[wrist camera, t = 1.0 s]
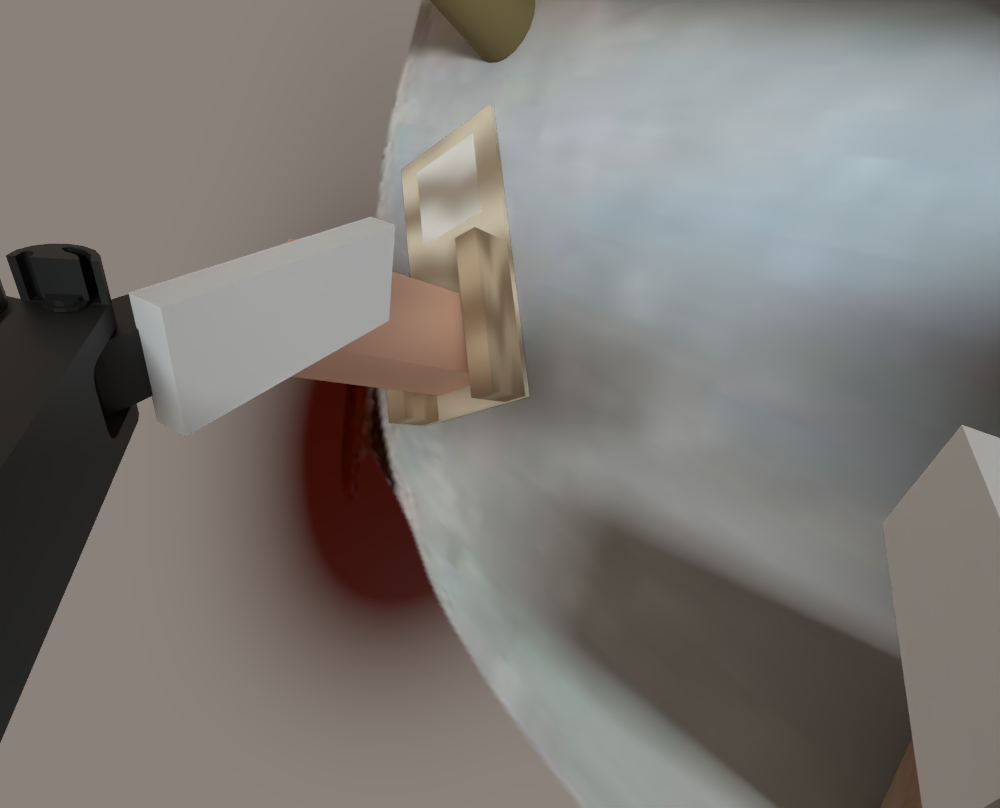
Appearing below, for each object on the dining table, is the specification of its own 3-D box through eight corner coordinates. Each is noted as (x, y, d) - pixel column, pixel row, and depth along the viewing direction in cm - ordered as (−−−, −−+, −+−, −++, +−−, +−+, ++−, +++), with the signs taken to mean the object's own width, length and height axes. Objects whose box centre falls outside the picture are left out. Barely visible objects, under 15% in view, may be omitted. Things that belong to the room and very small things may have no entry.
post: (432, 325, 47) (240, 276, 35) (485, 302, 43) (291, 238, 31) (439, 395, 46) (242, 370, 33) (494, 377, 42) (294, 341, 30)
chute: (405, 171, 52) (369, 153, 49) (493, 107, 45) (458, 81, 42) (427, 425, 47) (388, 422, 44) (529, 396, 40) (492, 390, 37)
